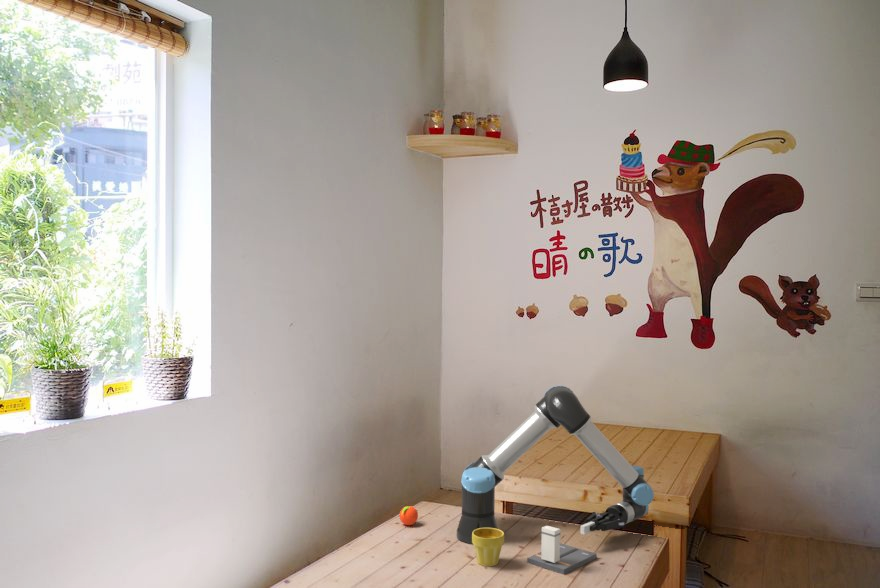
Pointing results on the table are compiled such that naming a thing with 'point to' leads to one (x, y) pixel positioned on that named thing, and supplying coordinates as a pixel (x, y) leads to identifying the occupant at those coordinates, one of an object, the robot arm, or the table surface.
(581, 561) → the fader board
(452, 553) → the table surface
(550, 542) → the cap
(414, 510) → the clementine
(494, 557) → the plant pot
